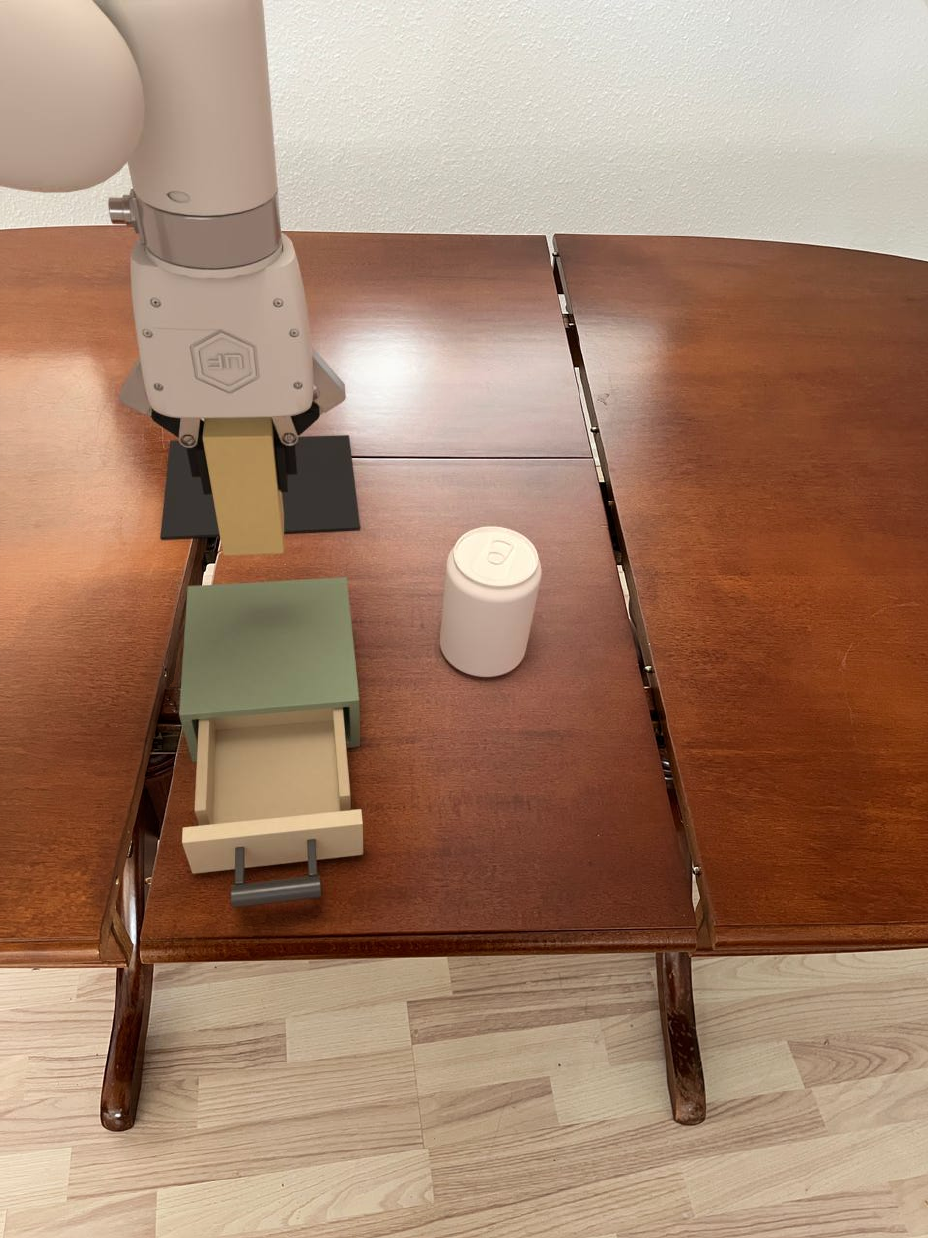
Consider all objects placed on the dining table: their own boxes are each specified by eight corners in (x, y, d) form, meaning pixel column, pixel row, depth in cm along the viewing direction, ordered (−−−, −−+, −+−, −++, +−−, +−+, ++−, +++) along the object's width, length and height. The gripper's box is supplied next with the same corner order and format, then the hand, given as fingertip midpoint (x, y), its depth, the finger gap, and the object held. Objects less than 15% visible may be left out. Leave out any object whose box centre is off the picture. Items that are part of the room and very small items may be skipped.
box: (223, 556, 63) (202, 437, 55) (225, 516, 66) (206, 398, 58) (284, 553, 64) (272, 436, 56) (284, 514, 67) (272, 397, 59)
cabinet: (360, 747, 72) (359, 700, 67) (192, 762, 70) (178, 715, 65) (348, 625, 81) (346, 576, 76) (198, 635, 78) (187, 585, 74)
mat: (160, 539, 86) (160, 536, 86) (170, 443, 97) (170, 440, 96) (360, 530, 90) (360, 527, 89) (348, 437, 100) (348, 434, 100)
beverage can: (426, 664, 78) (433, 571, 69) (456, 605, 84) (467, 511, 75) (509, 693, 77) (527, 602, 68) (535, 630, 82) (555, 538, 73)
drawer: (368, 909, 62) (368, 880, 58) (189, 931, 60) (178, 902, 56) (350, 719, 73) (349, 684, 69) (199, 732, 70) (190, 697, 67)
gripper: (36, 251, 44) (116, 520, 57) (369, 255, 46) (369, 512, 60) (61, 189, 49) (129, 451, 62) (360, 196, 51) (363, 446, 65)
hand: (246, 478), depth 61 cm, fingers closed on box, 4 cm apart
